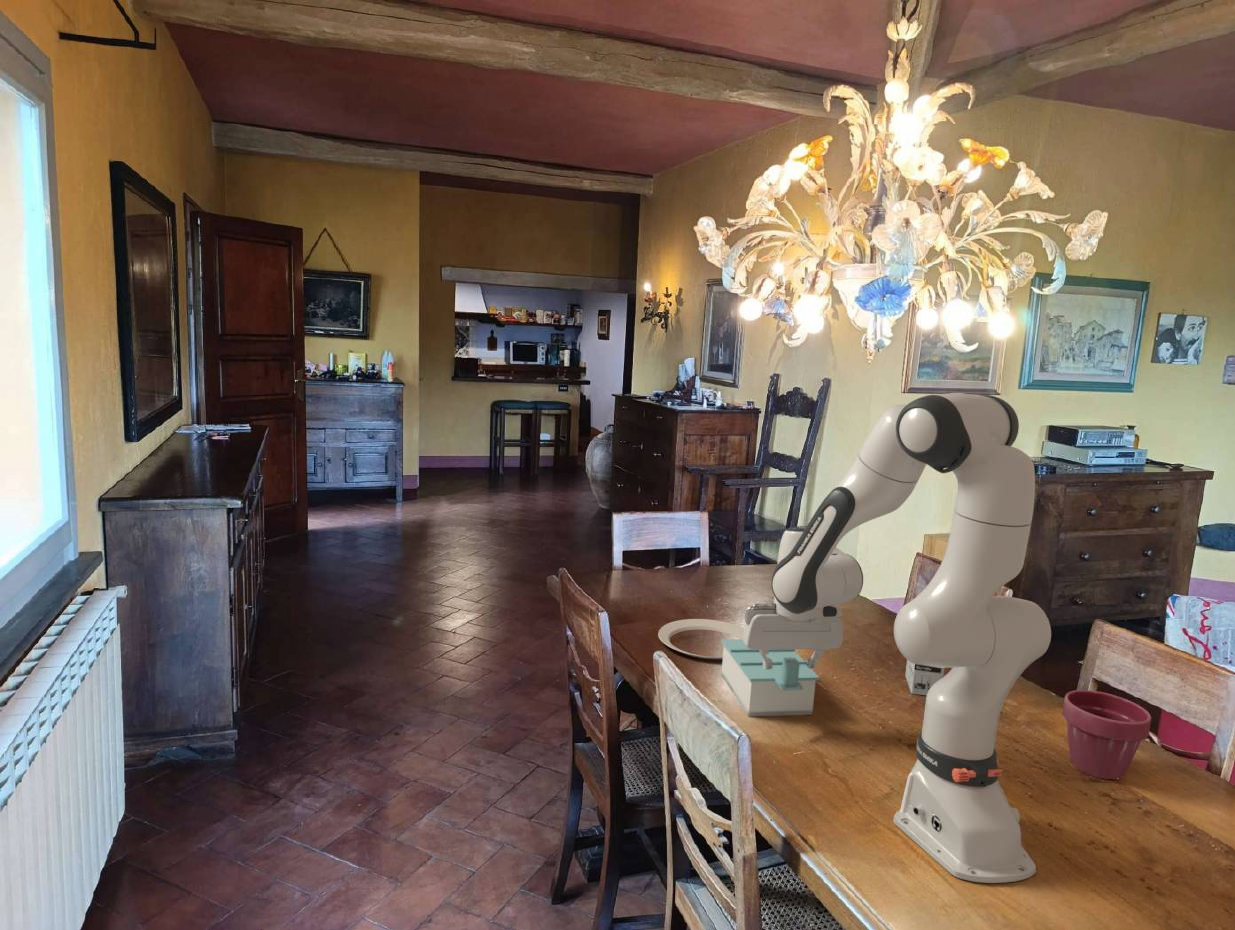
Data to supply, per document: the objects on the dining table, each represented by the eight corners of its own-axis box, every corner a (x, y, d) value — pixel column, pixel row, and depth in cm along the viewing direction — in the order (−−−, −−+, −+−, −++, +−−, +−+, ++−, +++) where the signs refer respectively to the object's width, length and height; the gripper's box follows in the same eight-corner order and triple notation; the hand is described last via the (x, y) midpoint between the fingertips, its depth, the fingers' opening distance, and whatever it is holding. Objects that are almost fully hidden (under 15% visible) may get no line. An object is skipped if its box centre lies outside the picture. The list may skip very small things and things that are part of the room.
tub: (812, 714, 172) (815, 679, 170) (748, 716, 169) (751, 680, 168) (778, 674, 191) (781, 641, 190) (721, 675, 189) (723, 642, 187)
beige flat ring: (700, 619, 225) (701, 612, 225) (778, 647, 208) (778, 640, 207) (637, 640, 208) (637, 633, 207) (715, 674, 190) (716, 666, 189)
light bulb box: (941, 698, 183) (947, 653, 181) (910, 694, 184) (915, 649, 182) (933, 679, 193) (938, 636, 191) (903, 675, 194) (908, 632, 193)
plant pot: (1113, 750, 163) (1123, 691, 161) (1157, 790, 149) (1169, 725, 147) (1041, 746, 163) (1050, 686, 161) (1079, 785, 150) (1089, 720, 147)
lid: (827, 694, 166) (830, 663, 165) (756, 695, 163) (759, 664, 162) (782, 645, 190) (785, 618, 189) (720, 646, 188) (723, 618, 187)
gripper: (751, 609, 159) (745, 675, 161) (849, 609, 162) (842, 673, 165) (741, 598, 165) (735, 662, 167) (836, 597, 168) (829, 660, 171)
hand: (789, 667), depth 166 cm, fingers open, 8 cm apart
